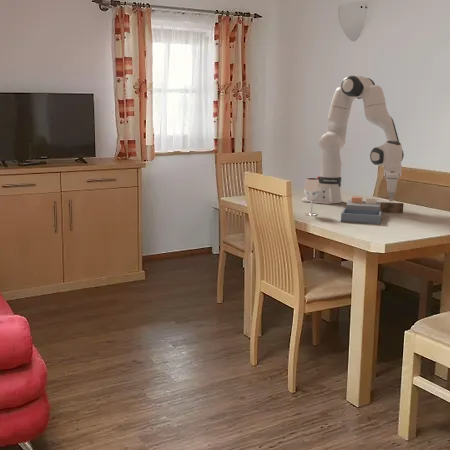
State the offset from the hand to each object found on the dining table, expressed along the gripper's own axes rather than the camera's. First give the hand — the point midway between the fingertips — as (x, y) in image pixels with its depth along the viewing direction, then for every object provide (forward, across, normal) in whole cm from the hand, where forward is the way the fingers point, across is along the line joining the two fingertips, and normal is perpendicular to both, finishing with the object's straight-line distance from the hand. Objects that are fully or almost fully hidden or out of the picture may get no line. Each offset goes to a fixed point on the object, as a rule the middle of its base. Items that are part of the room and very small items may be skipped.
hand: (391, 199), depth 313 cm
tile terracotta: (0, +11, -16) cm, 20 cm away
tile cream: (0, +11, -10) cm, 15 cm away
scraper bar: (+7, 0, -1) cm, 7 cm away
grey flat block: (+6, +14, -13) cm, 20 cm away
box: (+6, +27, -14) cm, 31 cm away
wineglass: (+6, +20, -38) cm, 44 cm away
